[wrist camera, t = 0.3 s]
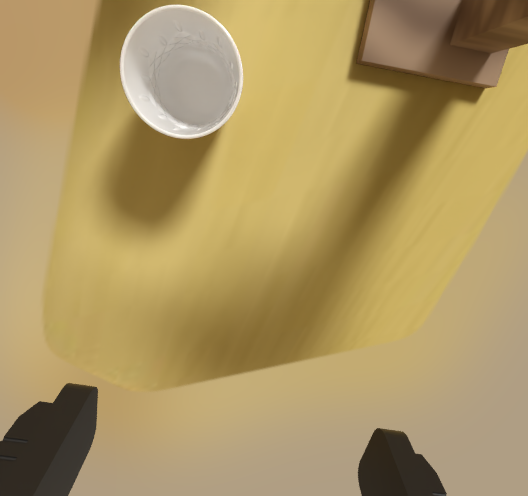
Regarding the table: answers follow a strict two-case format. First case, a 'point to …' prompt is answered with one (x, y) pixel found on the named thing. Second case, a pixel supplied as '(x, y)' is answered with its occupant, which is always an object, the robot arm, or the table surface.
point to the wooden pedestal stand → (444, 37)
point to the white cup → (181, 71)
